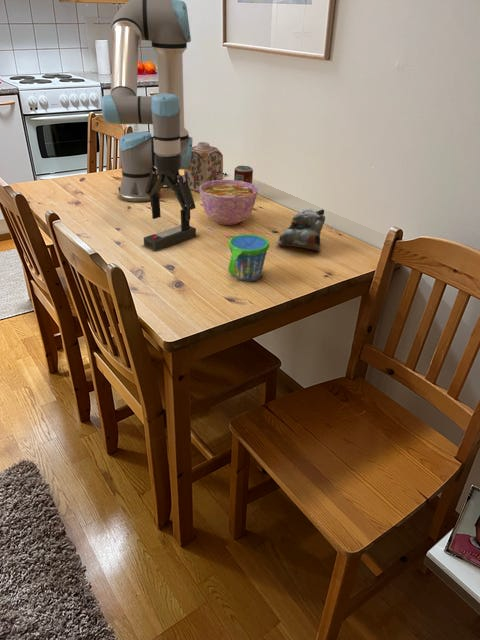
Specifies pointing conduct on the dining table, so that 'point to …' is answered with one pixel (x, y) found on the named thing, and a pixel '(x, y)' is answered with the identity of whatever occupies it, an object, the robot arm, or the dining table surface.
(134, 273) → the dining table surface
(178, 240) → the tv remote
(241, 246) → the snack cup
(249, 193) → the bowl of food
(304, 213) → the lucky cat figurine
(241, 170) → the soda can
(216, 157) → the decorative jar
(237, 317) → the dining table surface
